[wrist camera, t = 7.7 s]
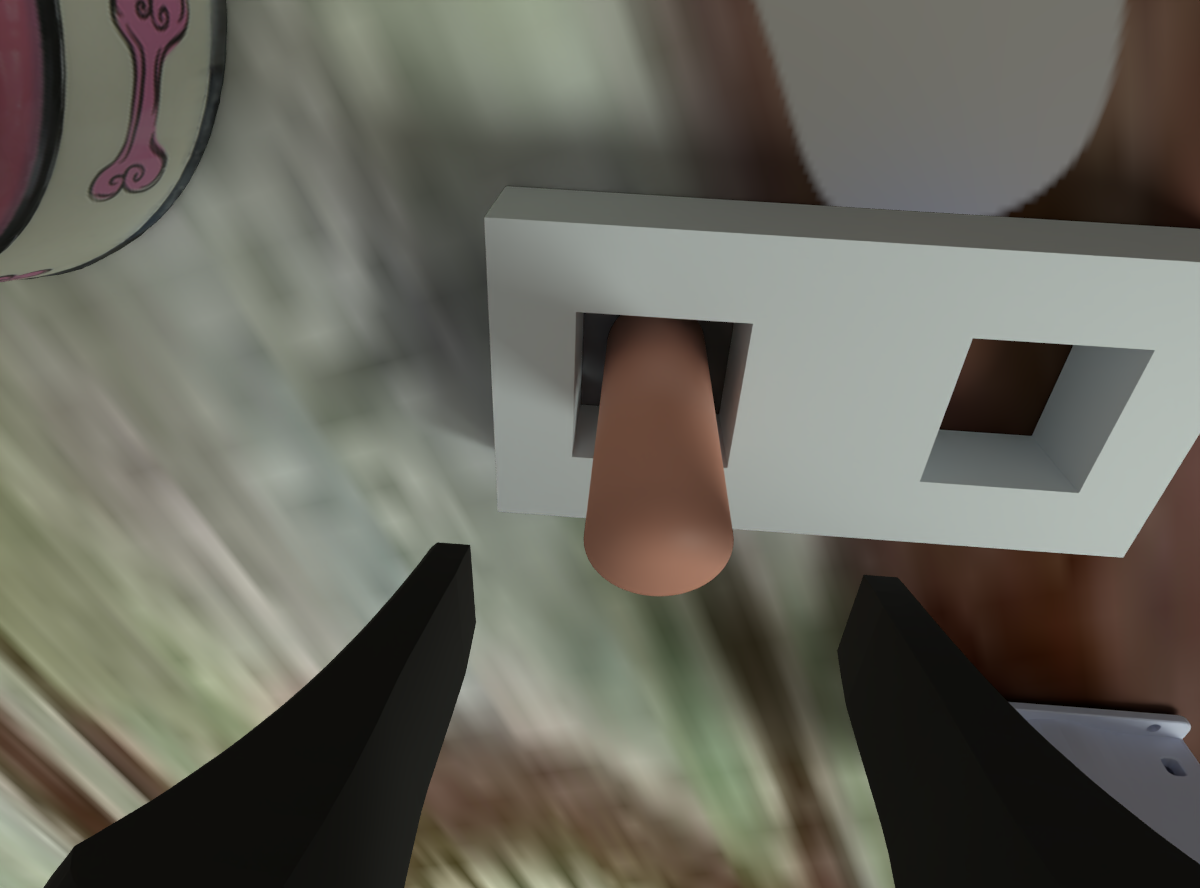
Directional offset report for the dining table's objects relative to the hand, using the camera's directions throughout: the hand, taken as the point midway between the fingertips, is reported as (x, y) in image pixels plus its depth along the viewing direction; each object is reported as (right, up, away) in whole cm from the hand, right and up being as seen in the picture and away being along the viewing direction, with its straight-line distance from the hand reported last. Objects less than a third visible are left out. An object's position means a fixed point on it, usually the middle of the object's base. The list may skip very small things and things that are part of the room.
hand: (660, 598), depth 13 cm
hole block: (+6, +6, +8) cm, 12 cm away
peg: (+1, +6, +9) cm, 10 cm away
